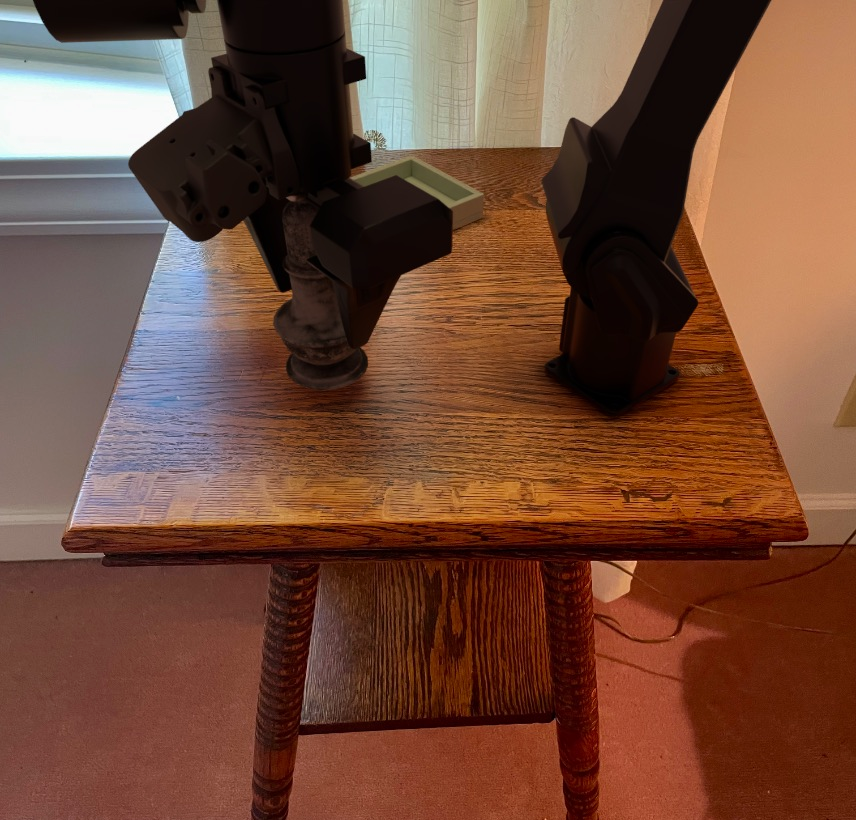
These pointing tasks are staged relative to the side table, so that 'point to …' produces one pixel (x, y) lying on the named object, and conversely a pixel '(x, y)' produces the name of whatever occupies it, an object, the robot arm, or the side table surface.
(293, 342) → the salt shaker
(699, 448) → the side table surface
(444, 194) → the tray
